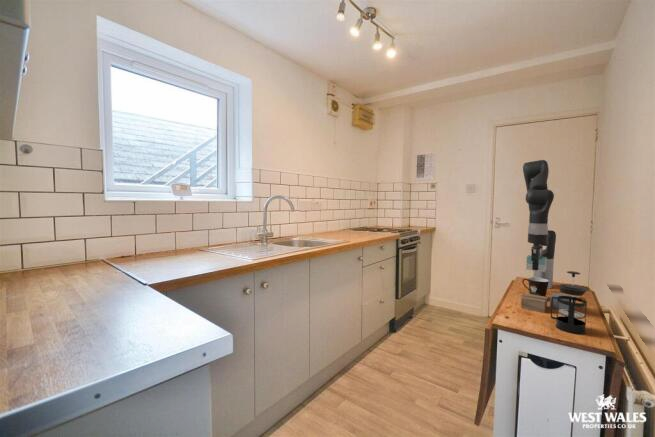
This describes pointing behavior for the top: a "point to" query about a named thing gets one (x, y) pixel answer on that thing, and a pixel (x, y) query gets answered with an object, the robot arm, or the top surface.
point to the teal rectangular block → (540, 264)
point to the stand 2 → (560, 305)
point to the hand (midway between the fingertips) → (536, 268)
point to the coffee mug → (537, 286)
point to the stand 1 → (534, 302)
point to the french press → (571, 308)
